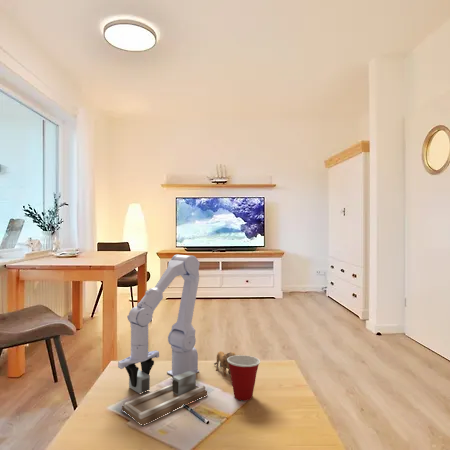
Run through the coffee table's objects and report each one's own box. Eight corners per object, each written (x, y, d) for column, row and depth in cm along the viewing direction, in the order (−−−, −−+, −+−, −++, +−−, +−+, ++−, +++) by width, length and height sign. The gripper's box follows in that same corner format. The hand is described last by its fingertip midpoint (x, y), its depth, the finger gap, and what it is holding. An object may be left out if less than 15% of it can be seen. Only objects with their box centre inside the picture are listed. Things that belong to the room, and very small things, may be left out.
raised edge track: (185, 384, 116) (185, 365, 117) (207, 395, 109) (207, 375, 109) (122, 411, 99) (122, 389, 99) (142, 426, 92) (142, 402, 92)
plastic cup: (264, 392, 111) (264, 355, 111) (253, 407, 101) (253, 367, 102) (234, 386, 116) (234, 350, 116) (221, 400, 106) (221, 361, 106)
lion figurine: (241, 377, 123) (241, 352, 123) (229, 381, 120) (229, 355, 120) (219, 364, 135) (219, 341, 135) (207, 367, 132) (208, 343, 132)
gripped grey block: (138, 383, 117) (138, 369, 117) (150, 391, 112) (150, 375, 112) (129, 387, 114) (129, 372, 114) (141, 394, 109) (141, 379, 109)
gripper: (151, 335, 121) (150, 373, 121) (113, 345, 111) (113, 387, 111) (162, 340, 116) (162, 379, 116) (124, 350, 106) (124, 394, 106)
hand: (139, 383), depth 113 cm, fingers closed on gripped grey block, 3 cm apart
